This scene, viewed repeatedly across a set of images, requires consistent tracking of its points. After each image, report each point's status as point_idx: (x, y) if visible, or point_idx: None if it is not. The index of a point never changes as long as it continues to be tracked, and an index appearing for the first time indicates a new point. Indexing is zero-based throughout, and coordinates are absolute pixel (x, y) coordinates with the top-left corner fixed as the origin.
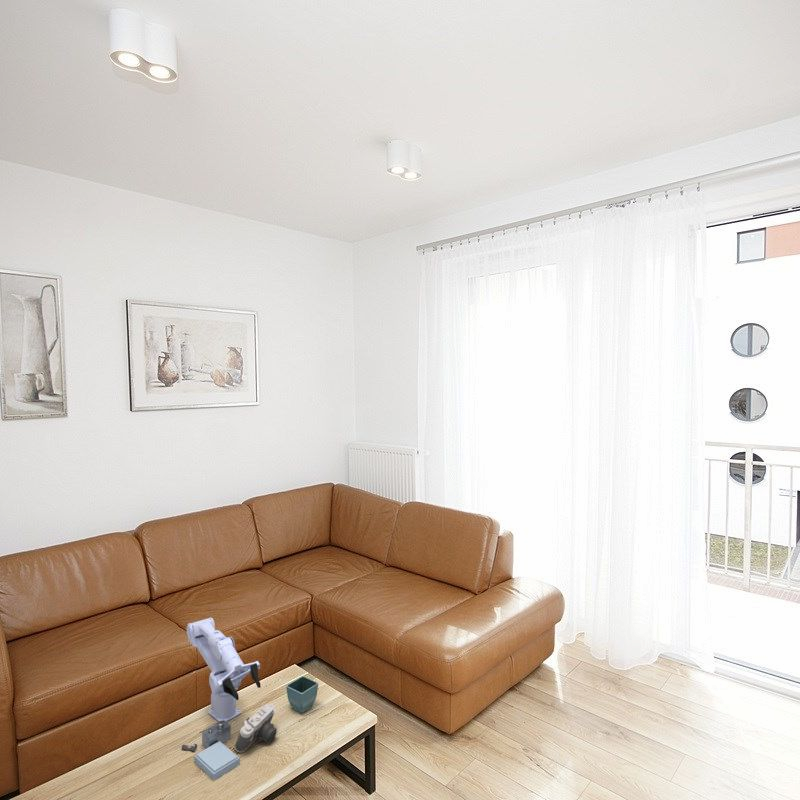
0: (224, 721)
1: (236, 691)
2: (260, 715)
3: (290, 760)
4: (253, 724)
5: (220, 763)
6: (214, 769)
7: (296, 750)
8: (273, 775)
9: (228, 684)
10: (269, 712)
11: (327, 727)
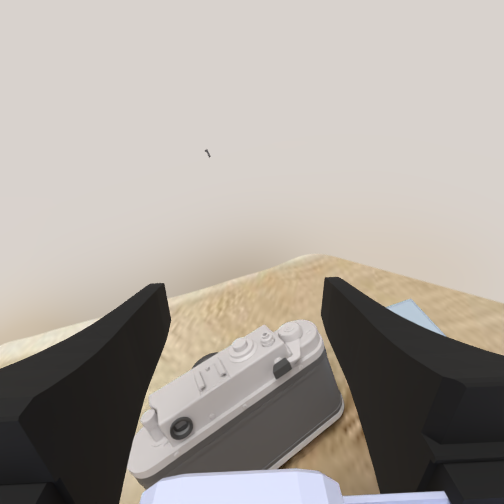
0: None
1: (337, 287)
2: (223, 362)
3: (214, 297)
4: (267, 329)
5: None
6: (411, 305)
7: (185, 320)
8: (263, 274)
9: (436, 338)
10: (180, 377)
11: None
